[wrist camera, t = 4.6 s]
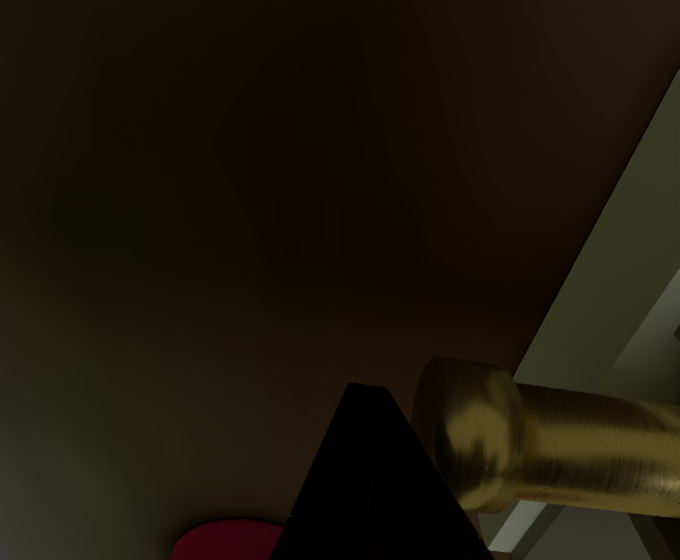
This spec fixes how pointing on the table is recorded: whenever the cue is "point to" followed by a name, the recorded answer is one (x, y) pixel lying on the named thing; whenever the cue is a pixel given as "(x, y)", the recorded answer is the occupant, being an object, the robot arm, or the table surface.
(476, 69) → the table surface
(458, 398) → the hinge pin
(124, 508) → the table surface
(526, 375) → the hinge board
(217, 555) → the pepper mill
